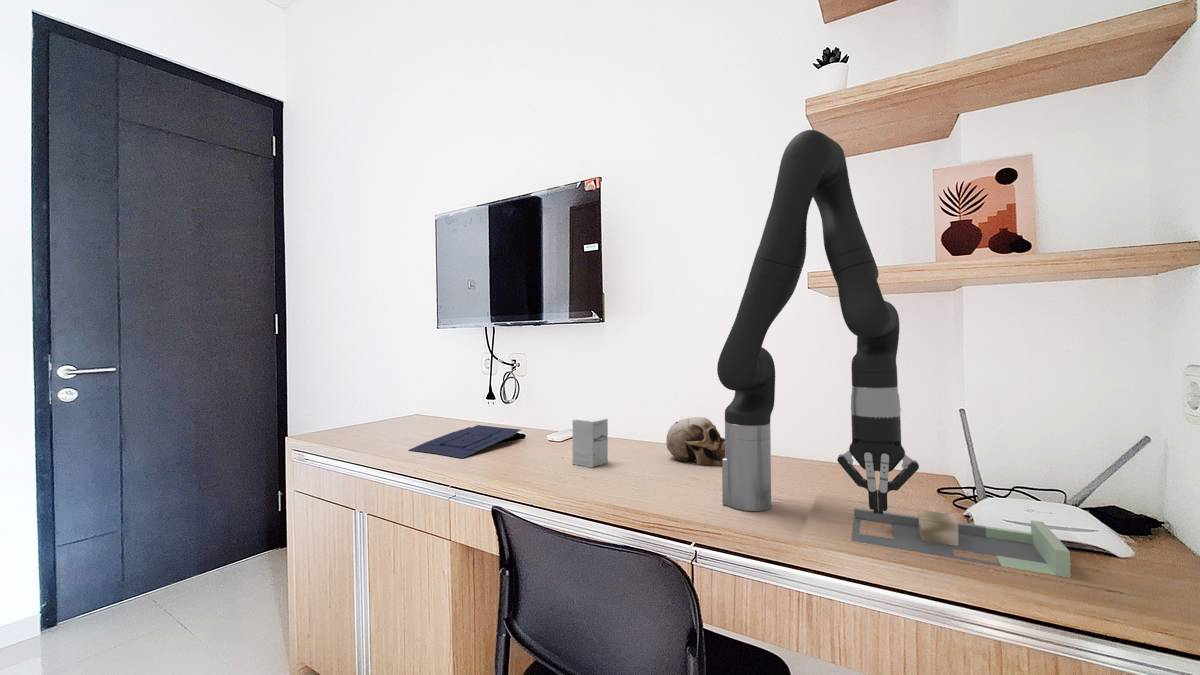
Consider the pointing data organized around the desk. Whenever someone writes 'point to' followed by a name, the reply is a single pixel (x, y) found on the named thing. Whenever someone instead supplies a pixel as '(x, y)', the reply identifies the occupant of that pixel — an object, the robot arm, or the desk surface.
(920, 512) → the maple block
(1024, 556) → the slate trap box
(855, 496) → the desk surface
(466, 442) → the navy blue folder
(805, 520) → the desk surface
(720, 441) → the human skull
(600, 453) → the supplement box
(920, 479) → the desk surface
